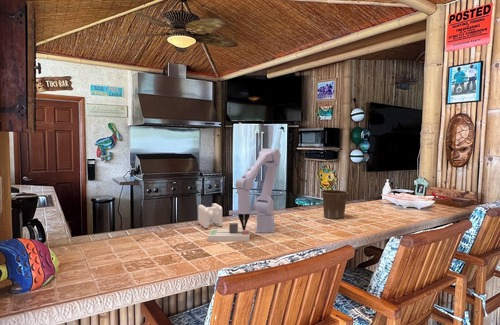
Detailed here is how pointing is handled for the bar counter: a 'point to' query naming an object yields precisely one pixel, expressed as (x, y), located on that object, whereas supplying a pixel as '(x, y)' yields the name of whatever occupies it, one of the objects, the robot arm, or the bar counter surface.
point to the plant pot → (334, 203)
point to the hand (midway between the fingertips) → (244, 229)
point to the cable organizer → (210, 215)
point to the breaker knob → (233, 228)
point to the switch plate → (228, 235)
